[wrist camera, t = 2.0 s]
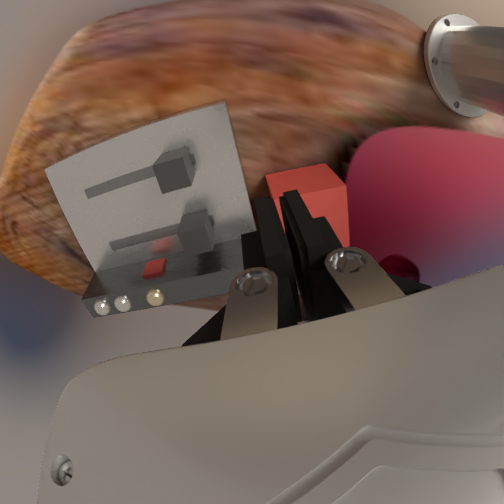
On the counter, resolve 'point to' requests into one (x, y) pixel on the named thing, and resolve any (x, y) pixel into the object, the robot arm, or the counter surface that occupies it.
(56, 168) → the grey slider control panel
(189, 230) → the block
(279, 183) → the matte red cuboid
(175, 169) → the block
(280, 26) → the counter surface
